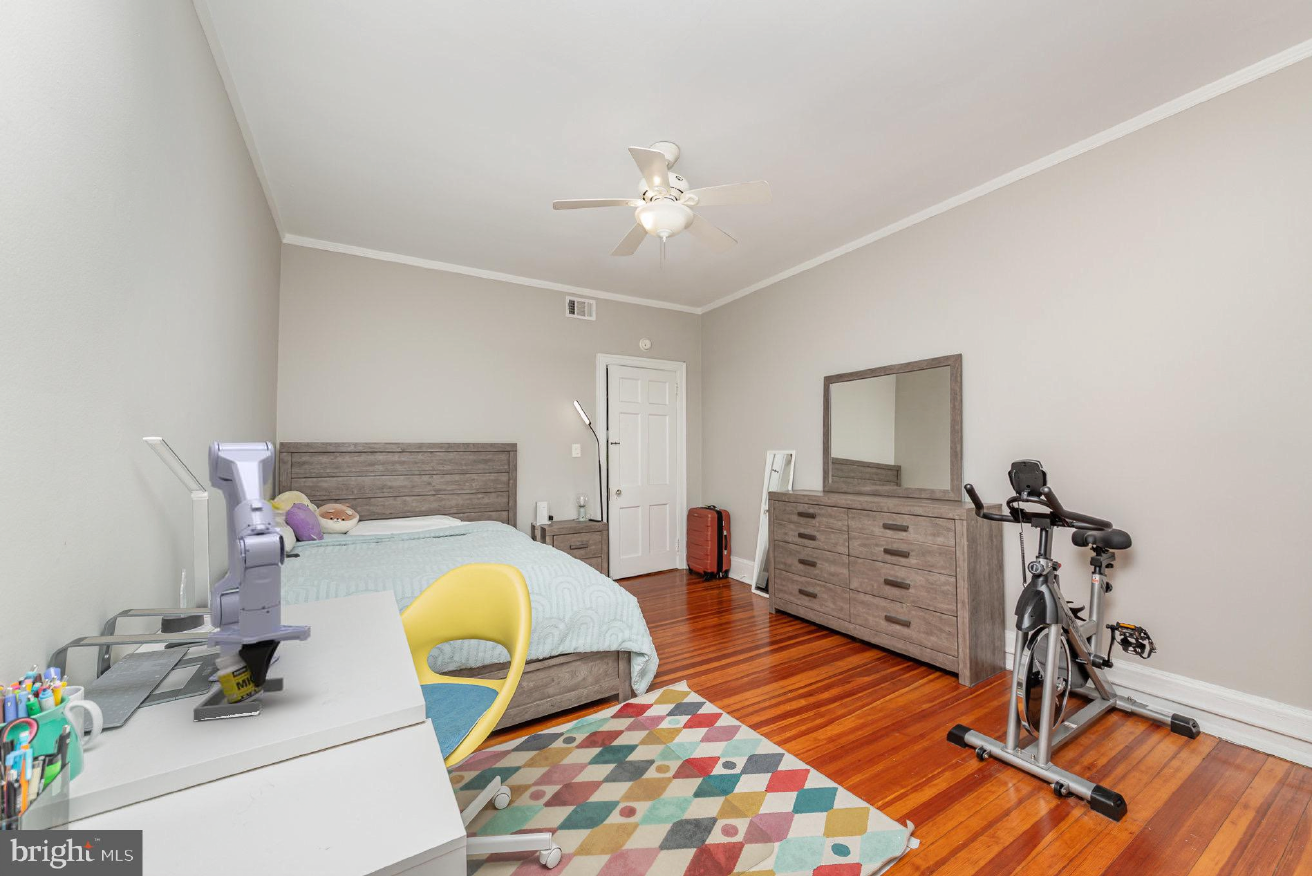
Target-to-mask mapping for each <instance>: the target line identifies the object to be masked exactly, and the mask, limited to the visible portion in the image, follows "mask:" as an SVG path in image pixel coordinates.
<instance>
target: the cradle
mask: <svg viewBox="0 0 1312 876" xmlns="http://www.w3.org/2000/svg"><path fill="white" fill-rule="evenodd" d="M262 688H263V693H264V691H265V693H267V692H274V691H275V692H276V691H277V690H278V691H283V690H284V677H273V678H271V677H270V678H266V682H265V683H264V684H263V685H262ZM266 691H267V692H266ZM224 699H226V697H225V694H224V692H223V689H222V687H221V686H220V687H218V688H217V689H216V690H215V691H214V692H212V693H211V694H210V695H209V696H208V697H206V698H205V699H204V700H203V701H202V702H200V703H199V704H198V705H197V706H196V707H195V708H193V721H194V720H201V719H205V718H216V717H221V716H228V715H229V716H230V715H235V714H243V713H252V712H257V711H259V710H260V711H261V701H260V700H258V701H250V702H247V703H237V704H228V703H227V704H219V703H220V702H222V701H223V700H224Z"/></svg>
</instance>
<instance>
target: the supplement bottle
mask: <svg viewBox="0 0 1312 876" xmlns="http://www.w3.org/2000/svg"><path fill="white" fill-rule="evenodd" d="M240 649H241V648H240ZM240 649H237V650H234V651H231V652H229V653H227V654H225V655H223V656H221V657H220V656H219V657H217V658H216V659H215V660H214V663H215V665H216V667H217V669H219V670H217V671H216V672H217V677H218V679H219V680H218V682H219V684H220V687H222V689H223V692H224V694H225V700H226V702H227V704H237V703H247V702H253V701H254V700H255V699H257V698H259V696H261V695H262V694H263V693H264V692H263V688H262V686H261V687H258V688H255V684H254V680H253V677H252V675H251V672H250V670H249V668H248V666H247V665H246V663H245V662H244V661H243V659H242V658H241V657H240V656H239V653H238V651H239V650H240Z"/></svg>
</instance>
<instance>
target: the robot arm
mask: <svg viewBox="0 0 1312 876" xmlns="http://www.w3.org/2000/svg"><path fill="white" fill-rule="evenodd" d="M275 456H276V454H275V447H274V445H273V444H272V443H271V442H270V441H265V442H217V441H213V442H211V443H210V444H209V446H208V456H207V458H208V460H207V461H208V462H207V464H208V476H209V477H208V480H209V482H210V487H211V488H215V489H217V490H220V491H221V492H222V494H223V497H224V500H225V508H226V509H225V511H226V541H227V556H228V557H227V559H228V560H227V561H228V565H227V566H228V574H227V575H226V576H224V577H223V578H222V579H220V580H219V581H218V582H216V583H215V584H214V585H213V587H212V588H211V590H210V599H209V601H210V602H209V617H210V619H209V620H210V625H211V627H213V628H214V629H219V631H215V632H212V633H211V634H209V635H208V636H206V649H211V648H212V649H213V648H216V647H219V657H221V656H223V655H225V654H227V653H229V652H231V651H234V650H237V649H240V648H241V649H240V650H239V651H238V653H239V656H240V657H241V658H242V659H243V661H244V662H245V663H246V665H247V666H248V668H249V670H250V672H251V675H252V677H253V680H254V684H255V688H258V687H261V686H262V685H263V684H264V683H265V682H266V679H267V675H268V671H269V668H270V666H271V665H272V664H274V663H275V662H276V661H277V660H278V659H279V658H280V655H281V654H279V653H278V654H276V651H277V649H278V647H279V646H280V644H281V642H285V641H300V642H302V641H303V642H304V641H307V640H309V638H310V637H311V625H291V624H290V625H289V624H282V623H281V622H282V612H281V611H282V599H281V598H282V580H281V579H282V566H283V565H284V564H285V560H286V551H287V547H286V539H285V537H284V532H282V531H281V527H278V525H277V523H276V522H277V521H276V516H275V515H276V514H275V511H274V510H275V509H274V506H273V504H272V503H271V502H269V501H267V500H266V499H264V486H266V485H268V483H269V480H270V479H271V476H272V472H273V470H274V467H275V458H276V457H275ZM233 590H235V591H233ZM236 590H237V591H236ZM227 591H229V592H227ZM217 672H218V671H216V672H215V673H213V675H211V676H210V677H208V681H209V682H215V681H216V682H217V681H219V679H218V677H217Z"/></svg>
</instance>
